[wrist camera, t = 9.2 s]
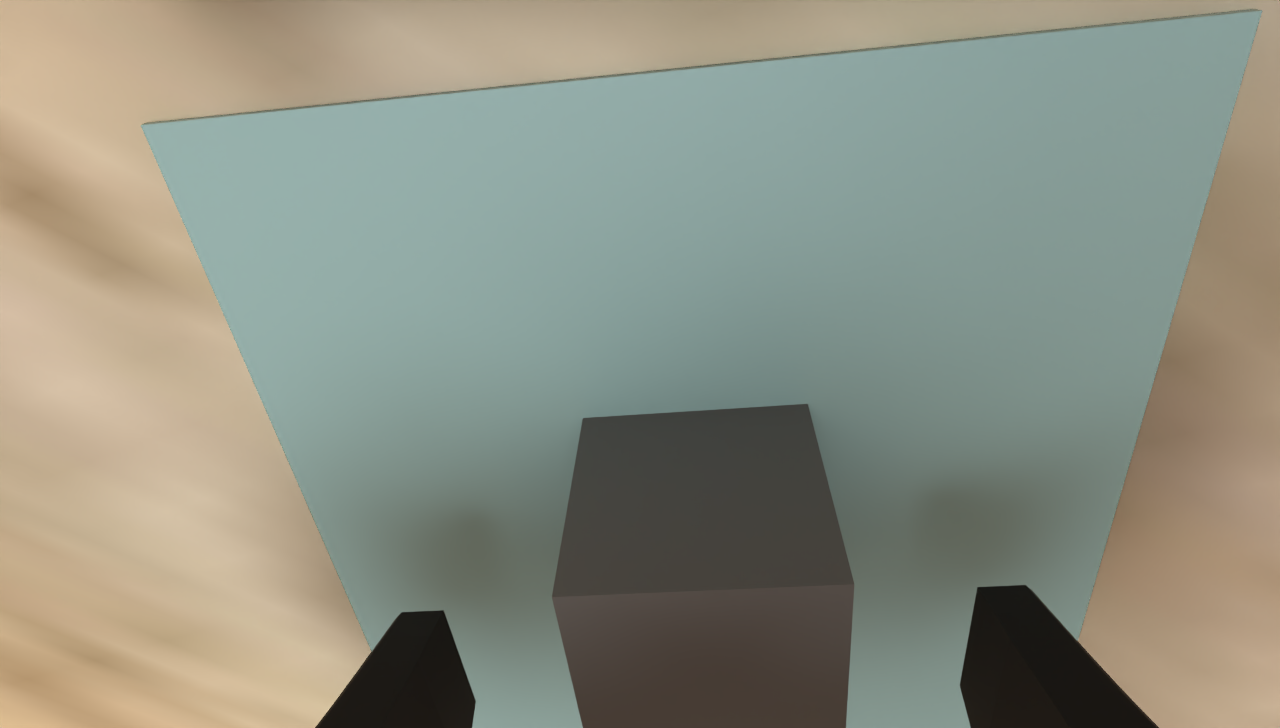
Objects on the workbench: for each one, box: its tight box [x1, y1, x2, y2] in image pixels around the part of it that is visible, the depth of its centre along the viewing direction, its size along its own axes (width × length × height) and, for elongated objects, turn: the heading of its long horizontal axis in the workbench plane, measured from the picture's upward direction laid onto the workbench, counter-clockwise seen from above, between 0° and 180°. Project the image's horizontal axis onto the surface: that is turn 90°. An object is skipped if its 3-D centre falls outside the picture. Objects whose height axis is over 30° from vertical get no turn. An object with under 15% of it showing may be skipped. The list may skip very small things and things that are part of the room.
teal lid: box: [141, 9, 1262, 728], centre depth 12 cm, size 14×14×4 cm
